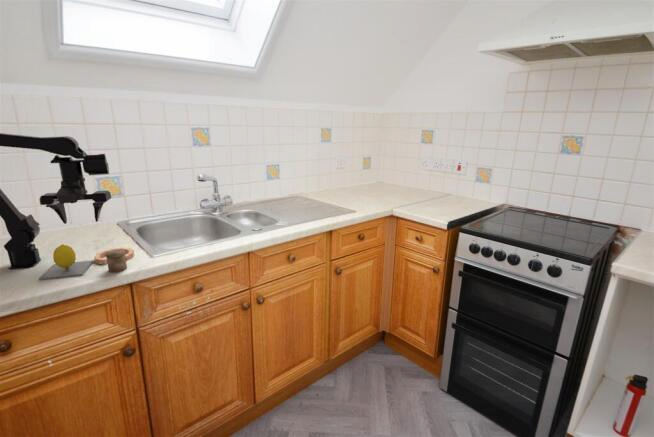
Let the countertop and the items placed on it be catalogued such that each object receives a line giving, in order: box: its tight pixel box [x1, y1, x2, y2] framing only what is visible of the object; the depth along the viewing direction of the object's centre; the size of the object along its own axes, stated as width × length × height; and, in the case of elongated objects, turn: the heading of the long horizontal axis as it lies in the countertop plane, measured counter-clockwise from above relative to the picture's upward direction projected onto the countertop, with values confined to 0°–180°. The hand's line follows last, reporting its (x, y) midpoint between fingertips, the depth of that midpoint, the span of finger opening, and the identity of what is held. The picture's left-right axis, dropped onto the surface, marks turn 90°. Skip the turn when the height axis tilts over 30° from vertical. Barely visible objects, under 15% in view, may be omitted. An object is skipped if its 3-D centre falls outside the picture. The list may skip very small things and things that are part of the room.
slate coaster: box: [38, 259, 94, 281], centre depth 110 cm, size 11×11×1 cm
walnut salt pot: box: [105, 249, 128, 273], centre depth 110 cm, size 5×5×6 cm
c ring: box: [93, 247, 135, 265], centre depth 120 cm, size 11×11×2 cm
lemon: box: [52, 244, 77, 269], centre depth 109 cm, size 6×6×8 cm
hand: (81, 222), depth 118 cm, fingers open, 9 cm apart
